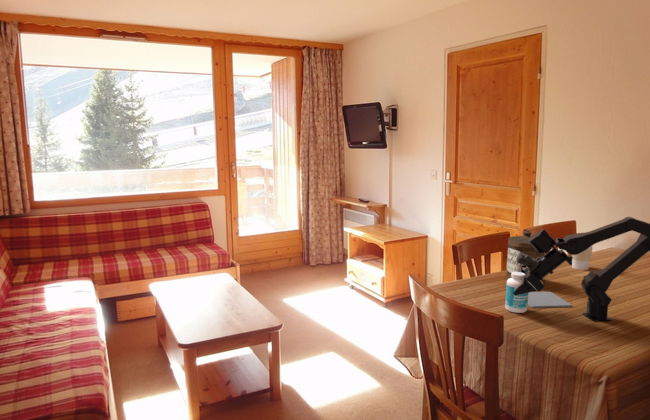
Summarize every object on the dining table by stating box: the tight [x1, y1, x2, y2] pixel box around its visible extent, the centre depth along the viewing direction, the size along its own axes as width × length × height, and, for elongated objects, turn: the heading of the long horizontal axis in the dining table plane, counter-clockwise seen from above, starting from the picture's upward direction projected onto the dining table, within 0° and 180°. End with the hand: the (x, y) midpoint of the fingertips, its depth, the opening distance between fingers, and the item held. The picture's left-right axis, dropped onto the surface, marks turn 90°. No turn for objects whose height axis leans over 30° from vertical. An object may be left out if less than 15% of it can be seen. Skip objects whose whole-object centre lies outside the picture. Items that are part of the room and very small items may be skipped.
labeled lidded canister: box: [505, 229, 546, 283], centre depth 201 cm, size 15×15×22 cm
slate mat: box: [528, 291, 573, 309], centre depth 179 cm, size 15×15×1 cm
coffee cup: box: [571, 245, 593, 271], centre depth 220 cm, size 9×9×15 cm
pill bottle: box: [504, 272, 529, 314], centre depth 168 cm, size 8×7×14 cm
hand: (512, 290), depth 169 cm, fingers open, 8 cm apart
